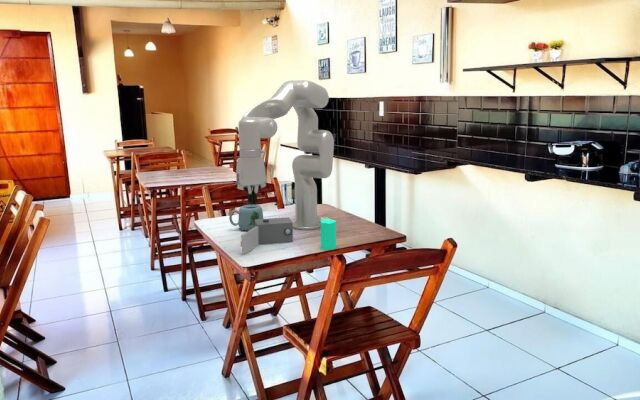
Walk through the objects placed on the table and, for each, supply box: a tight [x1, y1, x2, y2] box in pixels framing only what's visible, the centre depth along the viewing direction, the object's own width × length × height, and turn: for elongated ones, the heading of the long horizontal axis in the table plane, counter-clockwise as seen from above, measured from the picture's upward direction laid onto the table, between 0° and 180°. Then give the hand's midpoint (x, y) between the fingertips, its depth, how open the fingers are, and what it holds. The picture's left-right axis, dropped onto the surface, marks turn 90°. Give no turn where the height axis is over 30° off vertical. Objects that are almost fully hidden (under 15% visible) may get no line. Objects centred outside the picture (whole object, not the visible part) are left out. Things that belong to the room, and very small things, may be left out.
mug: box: [229, 204, 264, 232], centre depth 228 cm, size 15×11×10 cm
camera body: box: [255, 217, 294, 246], centre depth 210 cm, size 14×9×9 cm, turn 103°
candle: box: [320, 217, 337, 251], centre depth 200 cm, size 6×6×12 cm
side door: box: [240, 226, 259, 255], centre depth 198 cm, size 14×2×7 cm, turn 162°
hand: (252, 203), depth 192 cm, fingers closed
